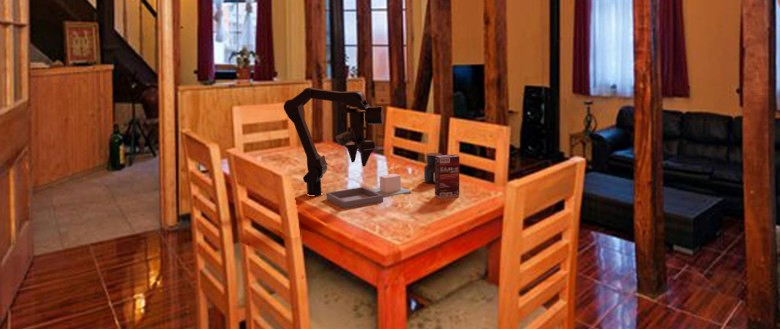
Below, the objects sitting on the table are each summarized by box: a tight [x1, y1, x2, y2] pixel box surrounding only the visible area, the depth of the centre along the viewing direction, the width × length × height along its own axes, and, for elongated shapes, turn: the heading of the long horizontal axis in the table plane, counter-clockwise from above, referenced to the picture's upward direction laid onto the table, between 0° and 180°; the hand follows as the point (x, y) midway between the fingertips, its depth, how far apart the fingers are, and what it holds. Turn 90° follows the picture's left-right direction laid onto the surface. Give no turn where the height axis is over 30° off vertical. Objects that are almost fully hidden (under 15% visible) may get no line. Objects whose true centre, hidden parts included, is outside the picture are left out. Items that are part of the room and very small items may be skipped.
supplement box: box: [434, 153, 460, 199], centre depth 212 cm, size 9×5×16 cm, turn 105°
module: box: [379, 173, 402, 193], centre depth 221 cm, size 4×7×6 cm, turn 120°
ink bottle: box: [423, 152, 443, 185], centre depth 235 cm, size 10×9×12 cm
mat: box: [370, 186, 412, 198], centre depth 221 cm, size 12×12×1 cm
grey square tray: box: [325, 186, 384, 210], centre depth 209 cm, size 16×16×3 cm
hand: (358, 164), depth 214 cm, fingers open, 9 cm apart
